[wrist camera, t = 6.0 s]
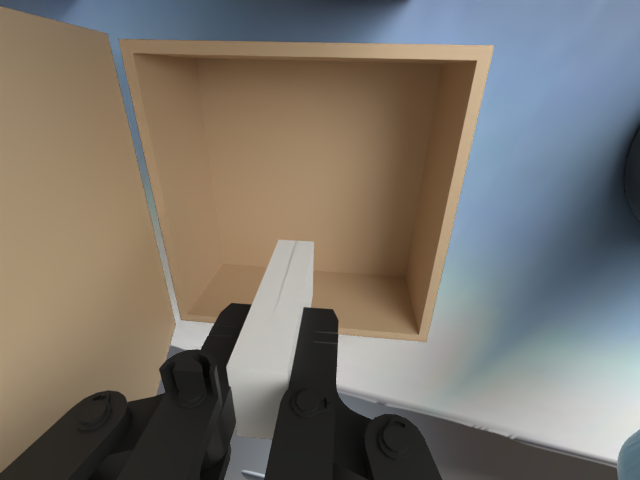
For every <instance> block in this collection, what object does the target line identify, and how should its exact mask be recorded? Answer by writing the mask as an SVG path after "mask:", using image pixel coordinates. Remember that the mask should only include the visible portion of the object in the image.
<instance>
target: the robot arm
mask: <svg viewBox="0 0 640 480" xmlns="http://www.w3.org/2000/svg"><path fill="white" fill-rule="evenodd" d="M624 188H625V194H626V199H627V202H628V205H629V207H630V209H631V211H632V212H633V214H634V215H635V217H636V218H637V219H638V220H639V221H640V129H639V130H638V132H637V134H636V136H635V138H634V141H633V143H632V145H631V148H630V151H629V154H628V157H627V161H626V166H625V173H624ZM313 260H314V242H312V241H295V240H278V242H277V245H276V247H275V250H274V252H273V255H272V257H271V259H270V262H269V264H268V267H267V269H266V272H265V274H264V276H263V279H262V281H261V284H260V286H259V289H258V291H257V294H256V296H255V298H254V301H253V303H252V304H240V303H231V304H230V305H228V306H227V307H226V308H225V309H224V310H222V311H221V312H220V314H219V316H218V318H217V320H216V321H215V323H214V326H213V327H212V329H211V331H210V333H209V336H208V337H207V339H206V340H205V342H204V344H203V346H202V348H201V350H198V349H197V350H186V351H183V352H181V353H178V354H176V355H174V356H172V357H171V358H169V359H168V360H166V361H165V362H164V363H163V365H162V366H161V367H160V368H159V371H160V375H161V378H162V382H163V385H164V388H165V393H163V394H160V395H157V396H153V397H149V398H144V399H139V400H134V401H129V402H127V400H126V397H125V396H124V395H123V394H121V393H120V392H119V391H111V390H108V391H102V392H97V393H95V394H93V395H91V396H88V397H86V398H84V399H83V400H81V401H80V402H79V403H77V404H76V405H75V406H73V407H72V408H71V409H70V410H69V411H68V412H67V413H66V414H64V415H63V416H62V417H61V418H60V419H59V420H58V421H57V422H56V423H55V424H54V425H52V426H51V427H50V428H49V429H48V430H47V431H46V432H45V433H44V434H43V435H41V436H40V437H39V438H38V439H37V440H36V441H35V442H34V443H33V444H32V445H31V446H29V447H28V448H27V449H26V450H25V451H24V452H23V453H22V454H21V455H20V456H19V457H17V458H16V459H15V460H14V461H13V462H12V463H11V464H10V465H9V466H8V467H6V468H5V469H4V470H3V471H2V472H1V473H0V480H224V477H225V474H226V471H227V467H228V464H229V461H230V455H231V447H230V440H231V437H232V434H233V431H234V428H235V427H236V433H237V436H240V437H251V438H261V439H272V445H271V449H270V454H269V459H268V464H267V469H266V473H265V478H264V480H442V478H441V476H440V474H439V471H438V469H437V467H436V464H435V462H434V460H433V458H432V456H431V453H430V451H429V448H428V446H427V444H426V442H425V439H424V438H423V436H422V434H421V433H420V431H419V430H418V428H417V427H416V426H414V424H412V423H411V422H410V421H409V420H407V419H406V418H403V417H401V416H398V415H394V414H393V415H392V414H384V415H381V416H378V417H375V418H374V419H373V420H371V419H369V418H366V417H364V416H362V415H360V414H358V413H356V412H354V411H352V410H350V409H349V408H348V407H347V406H346V405H345V404H344V403H343V402H342V400H341V399H340V398H339V395H338V393H337V389H336V372H337V348H338V324H339V320H338V318H337V316H336V314H335V312H334V310H333V309H324V308H311V303H312V297H313ZM617 471H618V480H640V429H639V430H638V431H637V432H636V433H634V434H633V435H632V436H631V437H629V438H628V439H627V440H626V442H625V443H624V444H623V446H622V448H621V450H620V452H619V456H618V462H617Z"/></svg>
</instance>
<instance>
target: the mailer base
mask: <svg viewBox="0 0 640 480" xmlns="http://www.w3.org/2000/svg"><path fill="white" fill-rule="evenodd" d="M118 40H119V44H120V49H121V53H122V58H123V62H124V67H125V71H126V76H127V80H128V85H129V89H130V94H131V98H132V103H133V107H134V111H135V116H136V120H137V125H138V129H139V134H140V138H141V143H142V147H143V152H144V156H145V161H146V165H147V170H148V174H149V179H150V183H151V188H152V192H153V197H154V201H155V205H156V210H157V214H158V219H159V223H160V228H161V232H162V237H163V241H164V246H165V250H166V255H167V259H168V264H169V268H170V273H171V277H172V282H173V286H174V291H175V295H176V299H177V304H178V308H179V313H180V317H181V320H186V321H197V322H208V323H215V321H216V320H217V318H218V316H219V314H220V312H221V311H222V310H224V309H225V308H226V307H227V306H228V305H230V304H231V303H240V304H252V303H253V301H254V298H255V296H256V294H257V291H258V289H259V286H260V284H261V281H262V279H263V276H264V274H265V272H266V269H267V267H268V264H269V262H270V259H271V257H272V255H273V252H274V250H275V247H276V245H277V242H278V240H295V241H312V242H314V260H313V297H312V303H311V308H324V309H333V310H334V312H335V314H336V316H337V318H338V320H339V324H338V334H342V335H353V336H364V337H375V338H386V339H397V340H408V341H419V342H426V341H427V337H428V332H429V328H430V324H431V319H432V315H433V311H434V306H435V302H436V298H437V293H438V289H439V284H440V280H441V276H442V271H443V267H444V263H445V258H446V254H447V250H448V245H449V241H450V237H451V232H452V228H453V223H454V219H455V215H456V210H457V206H458V202H459V197H460V193H461V189H462V184H463V180H464V175H465V171H466V167H467V162H468V158H469V154H470V149H471V145H472V141H473V136H474V132H475V128H476V123H477V119H478V114H479V110H480V106H481V101H482V97H483V93H484V88H485V84H486V80H487V75H488V71H489V66H490V62H491V58H492V53H493V49H494V46H493V45H435V44H377V43H320V42H262V41H204V40H146V39H118Z"/></svg>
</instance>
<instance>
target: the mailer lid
mask: <svg viewBox="0 0 640 480" xmlns="http://www.w3.org/2000/svg"><path fill="white" fill-rule="evenodd" d="M175 325H176V323H175V319H174V315H173V311H172V306H171V302H170V298H169V294H168V289H167V285H166V281H165V277H164V272H163V268H162V264H161V259H160V255H159V251H158V247H157V242H156V238H155V234H154V230H153V225H152V221H151V217H150V213H149V208H148V204H147V200H146V196H145V191H144V187H143V183H142V179H141V174H140V170H139V166H138V162H137V157H136V153H135V149H134V145H133V140H132V136H131V132H130V128H129V123H128V119H127V115H126V111H125V106H124V102H123V98H122V94H121V89H120V85H119V81H118V76H117V72H116V68H115V64H114V59H113V55H112V51H111V47H110V42H109V38H108V34H107V33H103V32H99V31H95V30H92V29H88V28H84V27H80V26H76V25H72V24H68V23H64V22H60V21H56V20H52V19H48V18H45V17H41V16H37V15H33V14H29V13H25V12H21V11H17V10H13V9H9V8H5V7H1V6H0V473H1V472H2V471H3V470H4V469H5V468H6V467H8V466H9V465H10V464H11V463H12V462H13V461H14V460H15V459H16V458H17V457H19V456H20V455H21V454H22V453H23V452H24V451H25V450H26V449H27V448H28V447H29V446H31V445H32V444H33V443H34V442H35V441H36V440H37V439H38V438H39V437H40V436H41V435H43V434H44V433H45V432H46V431H47V430H48V429H49V428H50V427H51V426H52V425H54V424H55V423H56V422H57V421H58V420H59V419H60V418H61V417H62V416H63V415H64V414H66V413H67V412H68V411H69V410H70V409H71V408H72V407H73V406H75V405H76V404H77V403H79V402H80V401H81V400H83V399H84V398H86V397H88V396H91V395H93V394H95V393H97V392H102V391H108V390H111V391H119V392H120V393H121V394H123V395H124V396H125V397H126V400H127V402H129V401H134V400H139V399H144V398H149V397H153V396H156V394H157V391H158V387H159V383H160V380H161V375H160V371H159V368H160V367H161V366H162V365H163V363H164V362H165V361H166V358H167V354H168V351H169V347H170V344H171V340H172V336H173V333H174V329H175Z"/></svg>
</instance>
